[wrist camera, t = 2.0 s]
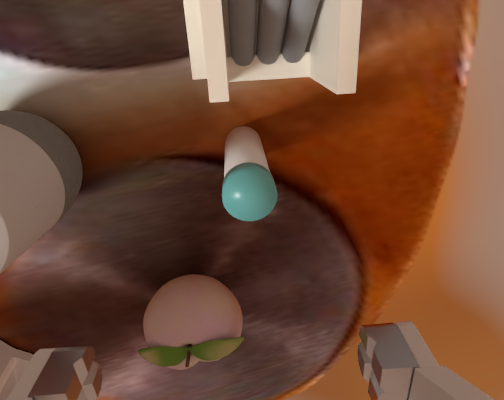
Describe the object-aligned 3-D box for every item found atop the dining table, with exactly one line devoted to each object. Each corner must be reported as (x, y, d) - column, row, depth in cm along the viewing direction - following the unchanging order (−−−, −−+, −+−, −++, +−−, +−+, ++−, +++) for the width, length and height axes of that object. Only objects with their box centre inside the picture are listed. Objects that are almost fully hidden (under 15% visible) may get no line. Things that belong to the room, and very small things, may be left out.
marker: (262, 160, 33) (278, 219, 23) (225, 163, 33) (224, 223, 23) (261, 123, 32) (276, 169, 22) (222, 126, 31) (219, 173, 22)
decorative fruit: (224, 240, 36) (223, 311, 27) (249, 300, 40) (255, 380, 31) (137, 267, 37) (108, 344, 28) (169, 323, 41) (153, 408, 32)
